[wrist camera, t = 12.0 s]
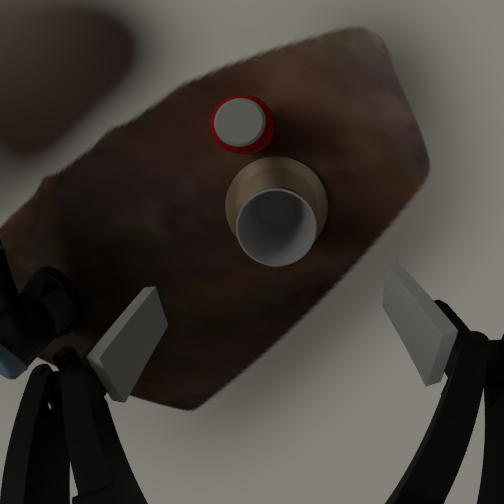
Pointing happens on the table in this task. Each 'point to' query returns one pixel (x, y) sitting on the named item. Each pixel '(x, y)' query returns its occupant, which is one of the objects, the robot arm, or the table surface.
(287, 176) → the plate
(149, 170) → the table surface
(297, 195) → the cup
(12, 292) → the robot arm
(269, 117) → the beverage can
